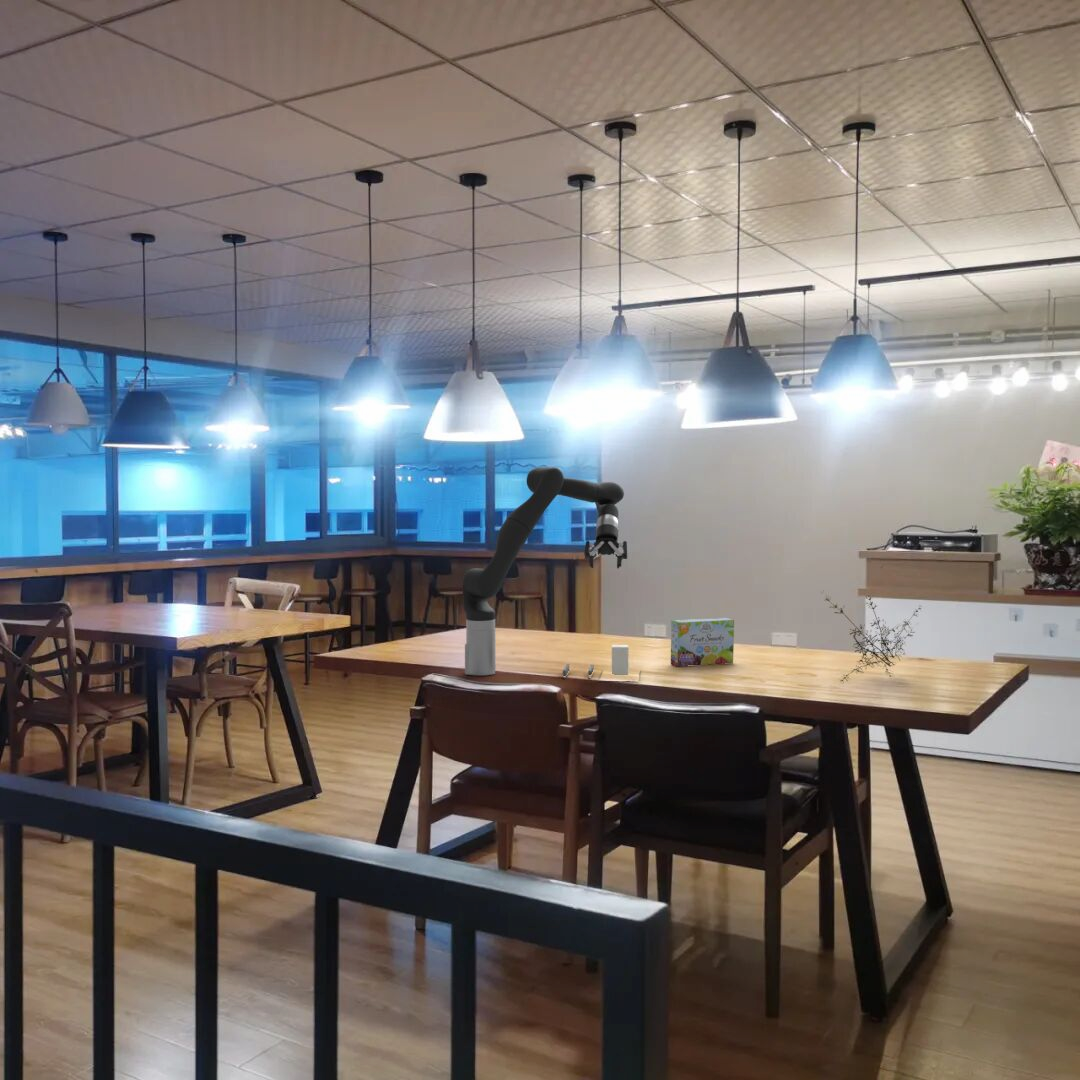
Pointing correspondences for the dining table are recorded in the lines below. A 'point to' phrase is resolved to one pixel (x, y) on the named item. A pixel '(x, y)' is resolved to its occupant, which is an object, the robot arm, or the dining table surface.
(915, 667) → the dining table surface
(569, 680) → the dining table surface
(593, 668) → the brackets
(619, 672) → the block
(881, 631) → the dried plant
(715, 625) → the snack box
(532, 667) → the dining table surface
